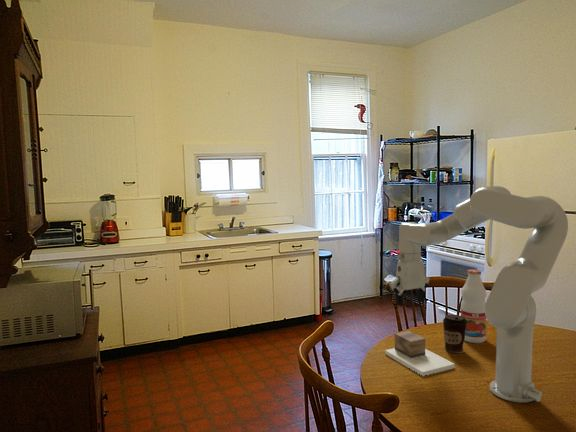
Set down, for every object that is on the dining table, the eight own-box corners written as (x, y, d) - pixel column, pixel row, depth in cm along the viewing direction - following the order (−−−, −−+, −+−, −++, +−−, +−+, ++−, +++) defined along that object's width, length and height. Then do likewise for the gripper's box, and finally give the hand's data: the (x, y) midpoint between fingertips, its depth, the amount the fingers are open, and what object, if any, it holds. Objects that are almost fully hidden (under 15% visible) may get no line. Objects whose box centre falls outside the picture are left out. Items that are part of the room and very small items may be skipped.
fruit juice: (484, 336, 175) (486, 268, 172) (486, 344, 166) (488, 273, 163) (459, 333, 178) (461, 267, 176) (460, 342, 169) (461, 272, 167)
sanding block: (425, 354, 155) (425, 338, 154) (410, 358, 152) (410, 341, 151) (408, 345, 163) (408, 330, 162) (394, 349, 160) (394, 333, 160)
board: (454, 368, 147) (454, 363, 147) (422, 376, 141) (422, 372, 141) (414, 347, 165) (414, 343, 165) (385, 354, 159) (385, 350, 159)
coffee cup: (462, 357, 156) (463, 322, 154) (439, 351, 161) (439, 318, 159) (468, 349, 162) (469, 315, 161) (446, 344, 167) (447, 311, 166)
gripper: (397, 261, 147) (397, 309, 149) (436, 256, 154) (435, 302, 156) (383, 257, 154) (384, 304, 156) (421, 253, 161) (421, 297, 163)
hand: (410, 303), depth 156 cm, fingers open, 9 cm apart
